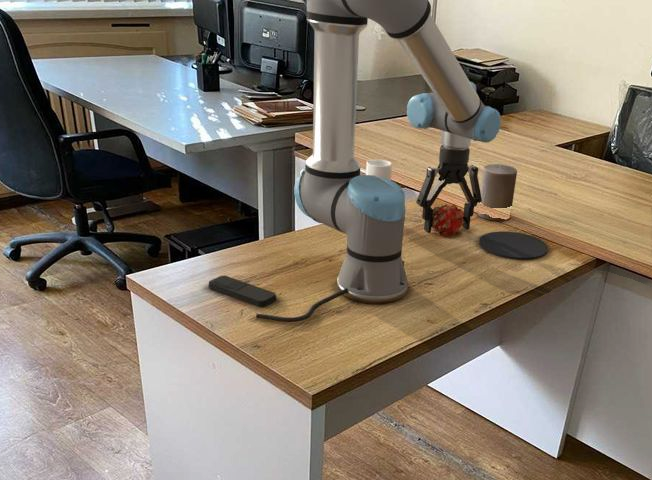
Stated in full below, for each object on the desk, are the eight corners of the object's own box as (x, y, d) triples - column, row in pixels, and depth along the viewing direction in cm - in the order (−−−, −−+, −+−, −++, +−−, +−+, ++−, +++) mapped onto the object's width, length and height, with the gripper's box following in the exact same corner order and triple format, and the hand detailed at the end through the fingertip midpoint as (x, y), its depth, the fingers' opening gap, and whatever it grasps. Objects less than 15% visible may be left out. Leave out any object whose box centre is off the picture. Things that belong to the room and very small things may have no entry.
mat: (501, 263, 171) (501, 260, 171) (466, 236, 185) (466, 234, 184) (561, 256, 179) (561, 253, 178) (523, 231, 192) (524, 229, 192)
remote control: (278, 301, 144) (222, 279, 149) (278, 294, 143) (222, 272, 148) (262, 310, 140) (206, 287, 145) (262, 302, 139) (205, 279, 144)
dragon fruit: (426, 242, 183) (455, 239, 191) (449, 232, 177) (478, 229, 186) (417, 211, 183) (446, 209, 191) (440, 199, 177) (469, 198, 186)
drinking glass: (360, 213, 193) (362, 159, 185) (382, 212, 195) (385, 158, 188) (369, 222, 187) (372, 166, 180) (392, 220, 190) (396, 165, 183)
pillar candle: (517, 218, 201) (525, 166, 194) (494, 223, 195) (501, 170, 188) (493, 207, 207) (500, 157, 200) (470, 213, 201) (476, 161, 194)
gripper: (487, 141, 182) (477, 221, 193) (406, 143, 173) (401, 228, 184) (502, 148, 177) (491, 231, 188) (419, 151, 167) (413, 238, 178)
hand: (446, 229), depth 186 cm, fingers closed on dragon fruit, 11 cm apart
